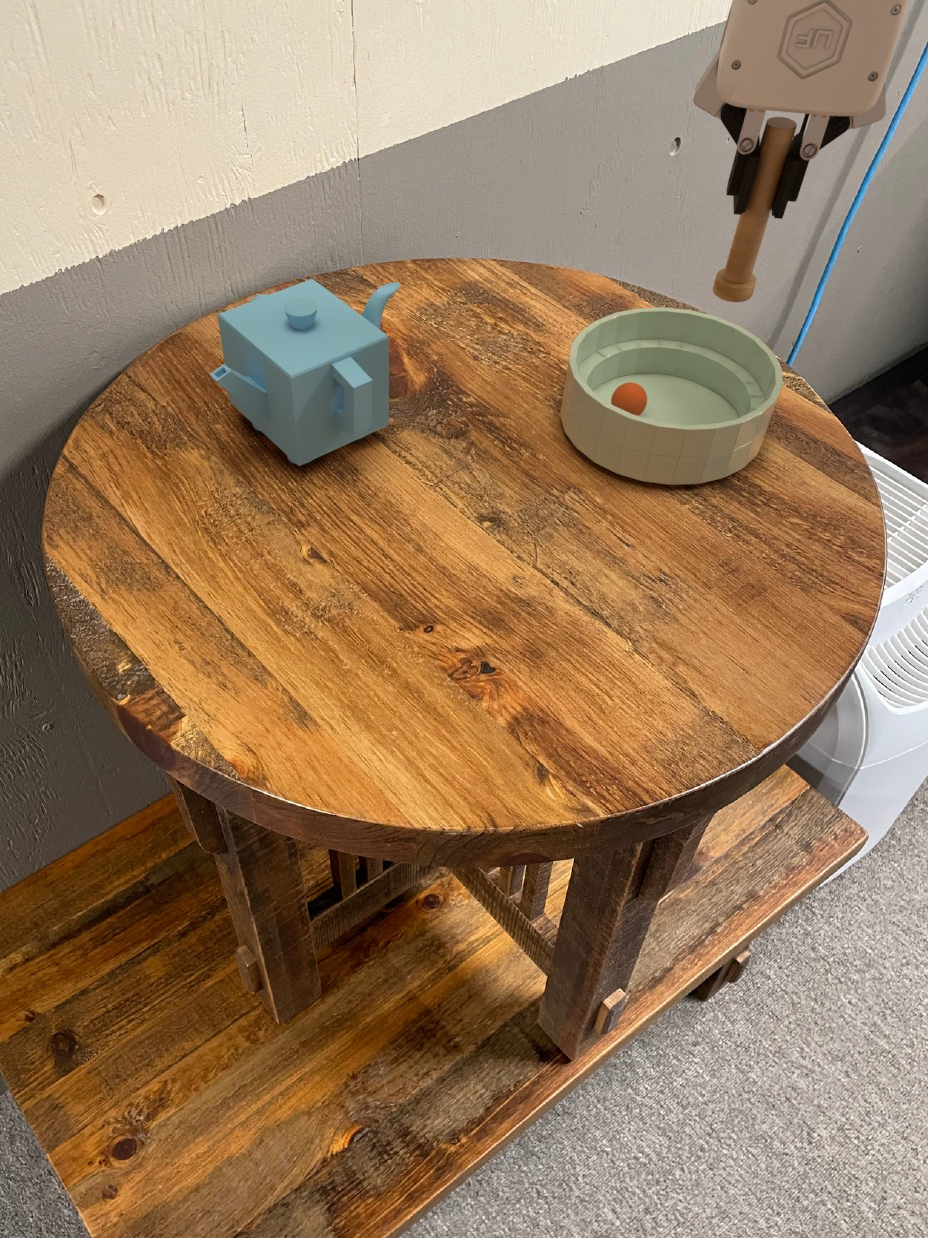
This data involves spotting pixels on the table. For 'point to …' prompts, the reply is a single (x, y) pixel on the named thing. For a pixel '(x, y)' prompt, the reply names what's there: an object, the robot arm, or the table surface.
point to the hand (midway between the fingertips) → (757, 205)
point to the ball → (630, 398)
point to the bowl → (670, 395)
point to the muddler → (755, 213)
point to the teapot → (307, 367)
